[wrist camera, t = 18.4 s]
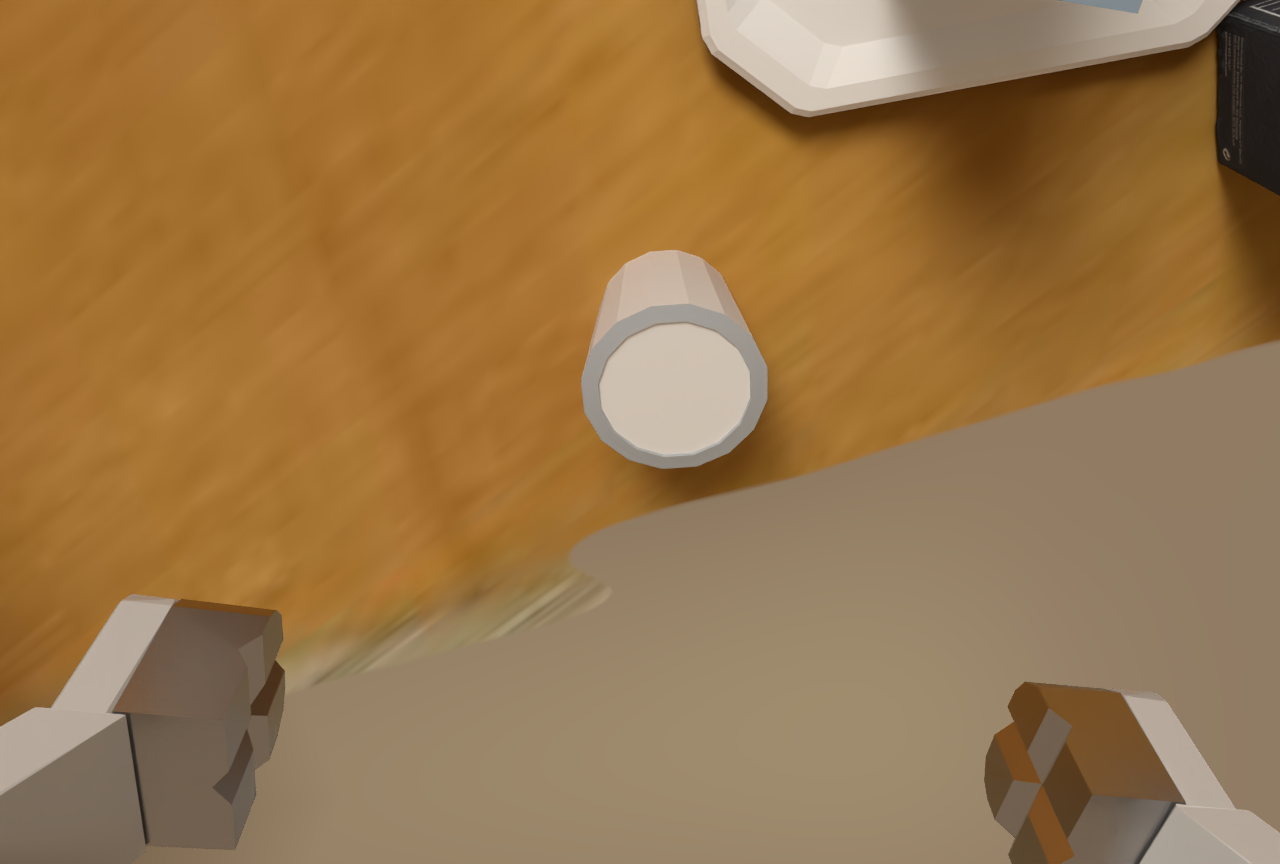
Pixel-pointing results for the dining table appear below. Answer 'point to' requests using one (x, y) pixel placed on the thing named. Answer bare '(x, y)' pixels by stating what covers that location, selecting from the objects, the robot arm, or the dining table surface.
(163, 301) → the dining table surface
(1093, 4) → the slate blue block
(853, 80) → the plate
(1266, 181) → the small box
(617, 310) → the white cup
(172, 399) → the dining table surface
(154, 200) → the dining table surface
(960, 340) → the dining table surface
